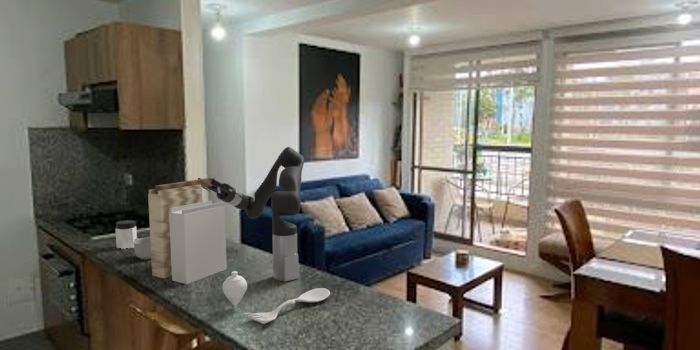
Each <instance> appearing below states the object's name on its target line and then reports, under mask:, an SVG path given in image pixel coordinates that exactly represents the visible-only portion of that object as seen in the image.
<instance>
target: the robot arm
mask: <svg viewBox="0 0 700 350" xmlns="http://www.w3.org/2000/svg"><path fill="white" fill-rule="evenodd" d="M304 164H305V157H304V156H303V155H302V154H301V153H300V152H298V151H296V150H295V149H294V148H292V147H290V146H286V147H285V148H284V149H283V150H282V151H281V153H280V154H279V155H278V157H277V159H276V160H275V161H274V163H273V165H272V167H271V168H270V169H269V171H268V173H267V175H266V176H265V178H264V180H263V181H262V183H261V184H260V185H259V186H258V188H257V189H256V190H255V192H254V194H253V195H254V196H251V195H250V196H249V195H246V194H243V192H241V191H239V189H236V188H235V187H234V186H232V185H230V184H228V183H226V182H219V181H218V180H216V179H215V180H214V179H212V181H211V184H212V185H213V186H207V187H201V188H202V189H204V190H206V191H207V192H212V193H213V194H216V197H217V199H219V200H221V202H224V203H226V204H227V205H230V206H232V207H234V208H236V209H238V210H244V211H245V214H246V216H247V217H248V218H249V219H251V220H255V219H257V218H260V216H261V215H262V213H263V212H264V210H265V208H266V205H267V202H268V201H269V199H270V205H271V208H270V209H271V219H272V220H271V221H272V223H271V224H272V225H271V226H272V227H271V229H272V232H271V233H272V273H273V274H272V277H273V279H274V280H276V281H278V282H281V281H282V282H284V283H285V282H290V281H293V280H297V279H300V278H299V273H300V272H299V271H300V268H299V253H298V226H297V225H296V224H294V223H292V222H288V221H286V220H285V219H283V218H282V216H283V217H284V216H286V217H287V216H289V217H290V216H291V217H292V216H297V215H298V214H299V213H300V211H301V205H302V203H301V188H302V187H301V186H302V173H303V167H304ZM281 167H283V168H284V169H282V171H280V173H279V178H278V172H279V169H280V168H281ZM198 179H202V178H201V177H198V178H197V180H198ZM277 184H278V187H279V188H280V190H279V191H278V190H277V189H276V188H277Z"/></svg>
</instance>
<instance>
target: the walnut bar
mask: <svg viewBox="0 0 700 350" xmlns="http://www.w3.org/2000/svg"><path fill="white" fill-rule="evenodd" d="M212 179H214V180H216V179H215V177H204V178H201V179H198V178H197V179H193V180H185V181H179V182H172V183H165V184H159V185H155V186H154V189H155V194H158V191H161V190H168V189H174V188H181V187H187V186H194V185H201V188H202V187H207V186H213V185H212V184H211V181H212Z"/></svg>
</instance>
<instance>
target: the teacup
mask: <svg viewBox="0 0 700 350" xmlns="http://www.w3.org/2000/svg"><path fill="white" fill-rule="evenodd" d="M133 244H134V248H133V251H134V255H135V256H136V257H137V259H138V258H139V259H141V260H143V259H144V260H151V241H150V236H147V237H142V238H141V237H140V238H138V237H137V239H135V240H134V242H133Z"/></svg>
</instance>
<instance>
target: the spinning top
mask: <svg viewBox="0 0 700 350" xmlns="http://www.w3.org/2000/svg"><path fill="white" fill-rule="evenodd" d="M238 273H239V272H238V271H236V270H233V271H232V272H231V275H230V276H228V277H226V278H225V280H224V281H223V283H222V286H221V288H222V292H223V293H224V296H225V297H226V298H227V299H228V301H229V302H230V303H231V304H232V305H233V306H234V309H237V306H238V305H239V303H240V302H241V301H242V299H243V297H244V296H245V294H246V292H247V289H248V283H247V281H246V279H245V278H244V277H243V276H242V275H239V274H238Z"/></svg>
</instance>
